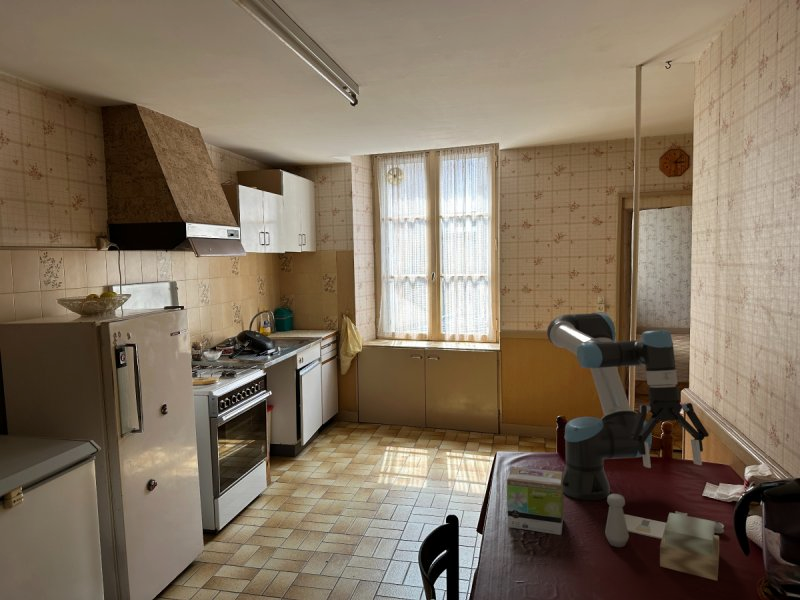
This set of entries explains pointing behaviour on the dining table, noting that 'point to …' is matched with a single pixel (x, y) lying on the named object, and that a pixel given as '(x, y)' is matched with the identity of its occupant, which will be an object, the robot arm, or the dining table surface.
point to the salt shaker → (616, 521)
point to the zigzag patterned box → (690, 546)
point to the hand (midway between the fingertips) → (672, 465)
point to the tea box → (535, 500)
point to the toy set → (717, 526)
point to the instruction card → (644, 526)
